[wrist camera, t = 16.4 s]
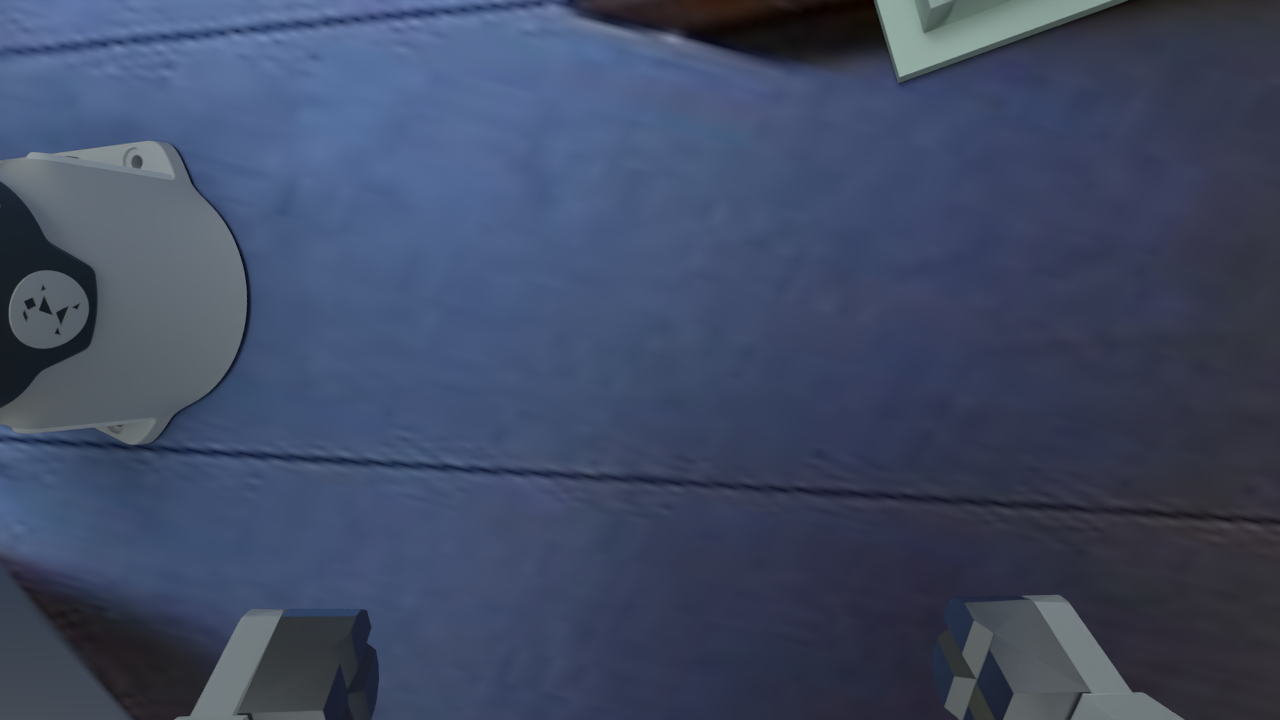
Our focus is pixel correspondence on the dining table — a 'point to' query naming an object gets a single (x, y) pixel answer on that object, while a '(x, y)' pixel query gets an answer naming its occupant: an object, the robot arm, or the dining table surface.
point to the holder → (967, 27)
